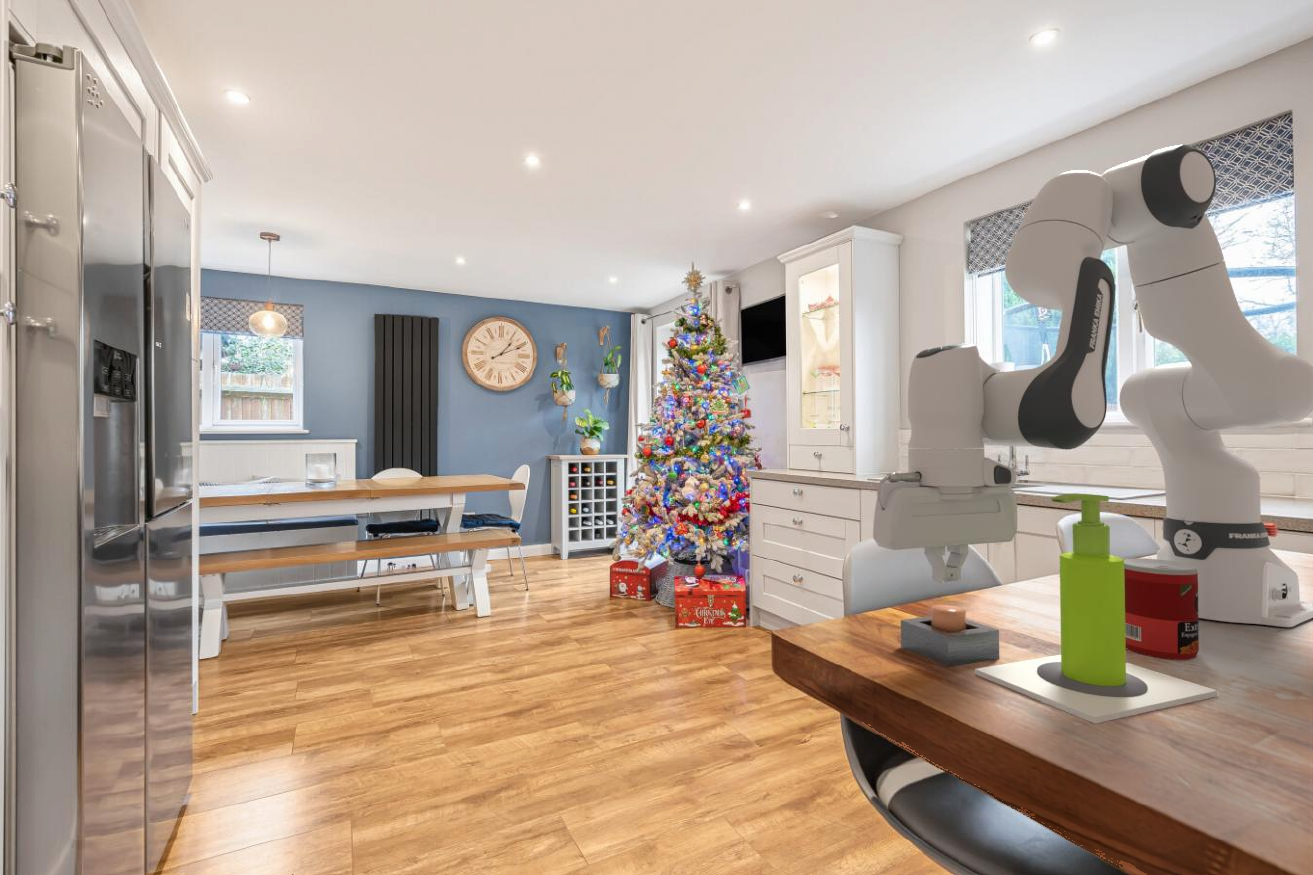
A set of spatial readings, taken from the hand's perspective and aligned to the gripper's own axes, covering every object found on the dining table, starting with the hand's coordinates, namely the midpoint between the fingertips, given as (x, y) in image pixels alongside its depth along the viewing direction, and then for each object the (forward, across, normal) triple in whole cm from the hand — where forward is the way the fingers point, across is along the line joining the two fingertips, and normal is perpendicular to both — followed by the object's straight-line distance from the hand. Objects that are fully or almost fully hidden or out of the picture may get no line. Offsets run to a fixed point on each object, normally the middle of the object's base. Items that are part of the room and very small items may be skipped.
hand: (946, 580), depth 82 cm
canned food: (+9, +25, -9) cm, 28 cm away
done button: (+7, 0, 0) cm, 7 cm away
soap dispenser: (+8, +6, -14) cm, 17 cm away
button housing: (+9, 0, 0) cm, 9 cm away
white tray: (+9, +6, -14) cm, 18 cm away
